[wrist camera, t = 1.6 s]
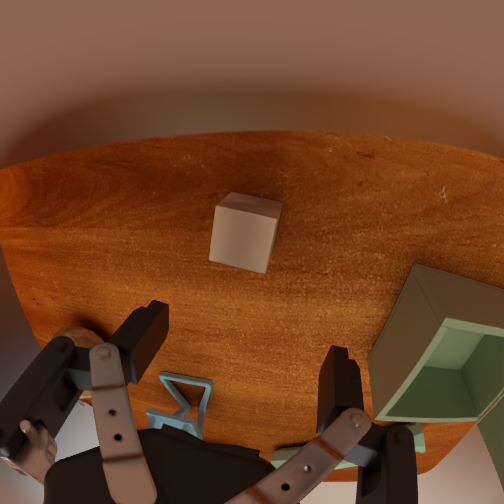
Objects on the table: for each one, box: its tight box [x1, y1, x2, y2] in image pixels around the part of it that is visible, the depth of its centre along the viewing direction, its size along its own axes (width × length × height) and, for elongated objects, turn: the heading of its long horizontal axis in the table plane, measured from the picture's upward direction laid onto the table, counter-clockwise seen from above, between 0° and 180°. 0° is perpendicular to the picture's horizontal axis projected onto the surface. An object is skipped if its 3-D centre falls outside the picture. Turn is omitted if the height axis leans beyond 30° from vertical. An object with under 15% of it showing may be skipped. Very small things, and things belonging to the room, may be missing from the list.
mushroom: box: [48, 326, 104, 398], centre depth 36 cm, size 10×11×15 cm
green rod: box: [271, 422, 425, 469], centre depth 36 cm, size 6×6×25 cm
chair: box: [143, 371, 213, 440], centre depth 33 cm, size 8×8×12 cm
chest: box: [367, 263, 504, 422], centre depth 23 cm, size 15×13×9 cm
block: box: [209, 192, 283, 274], centre depth 24 cm, size 5×5×5 cm
